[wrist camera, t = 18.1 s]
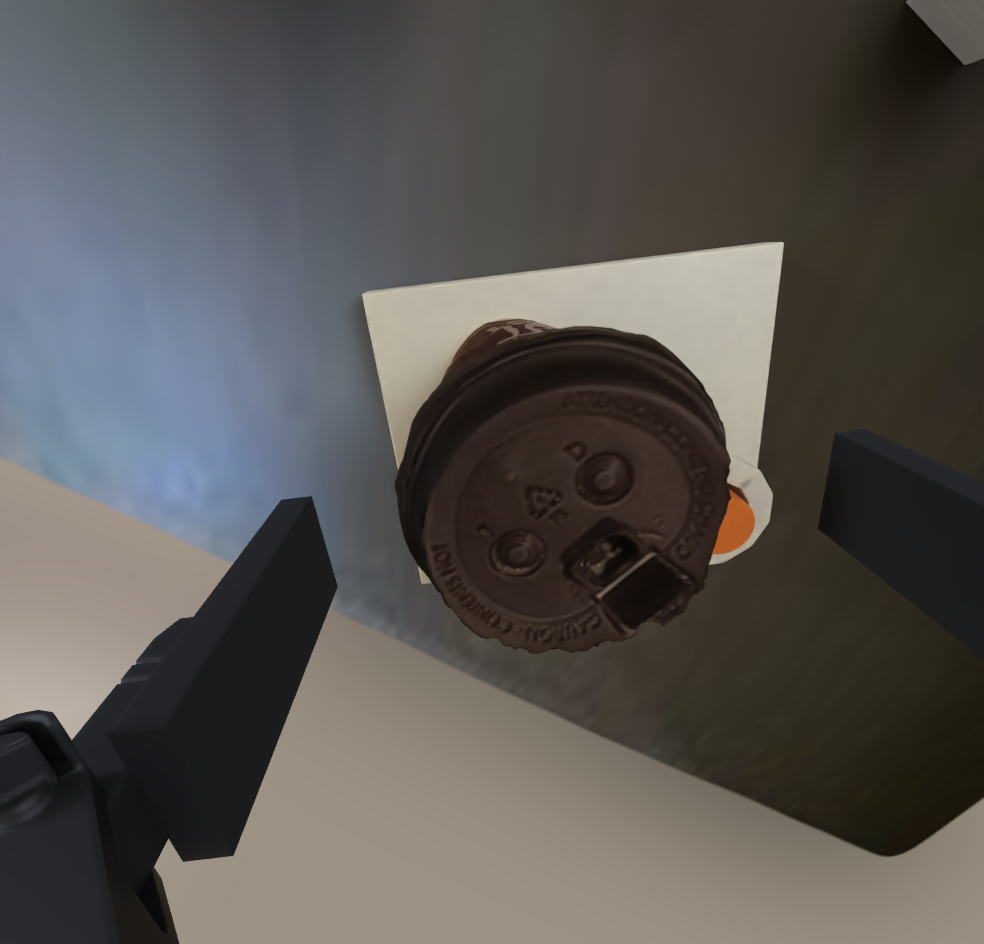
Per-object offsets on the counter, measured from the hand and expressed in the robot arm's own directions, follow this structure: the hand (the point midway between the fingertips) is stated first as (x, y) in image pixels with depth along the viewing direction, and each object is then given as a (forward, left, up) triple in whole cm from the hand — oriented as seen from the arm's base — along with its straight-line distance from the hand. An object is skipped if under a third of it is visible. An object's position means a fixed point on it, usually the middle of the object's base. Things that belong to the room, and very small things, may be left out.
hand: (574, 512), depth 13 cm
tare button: (-9, +7, -10) cm, 15 cm away
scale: (-3, +2, -13) cm, 13 cm away
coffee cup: (0, 0, -12) cm, 12 cm away
